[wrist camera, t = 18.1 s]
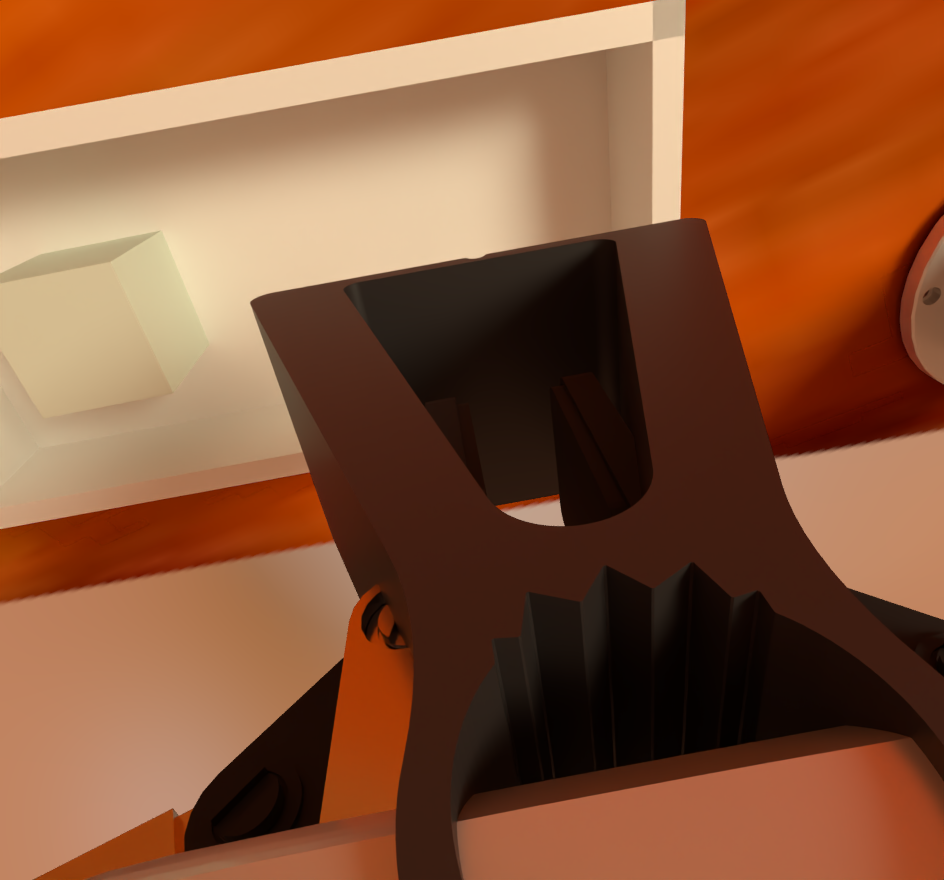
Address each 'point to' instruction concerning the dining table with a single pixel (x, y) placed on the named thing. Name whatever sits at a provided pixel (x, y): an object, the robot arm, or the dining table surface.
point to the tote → (321, 215)
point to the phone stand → (573, 547)
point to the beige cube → (99, 324)
